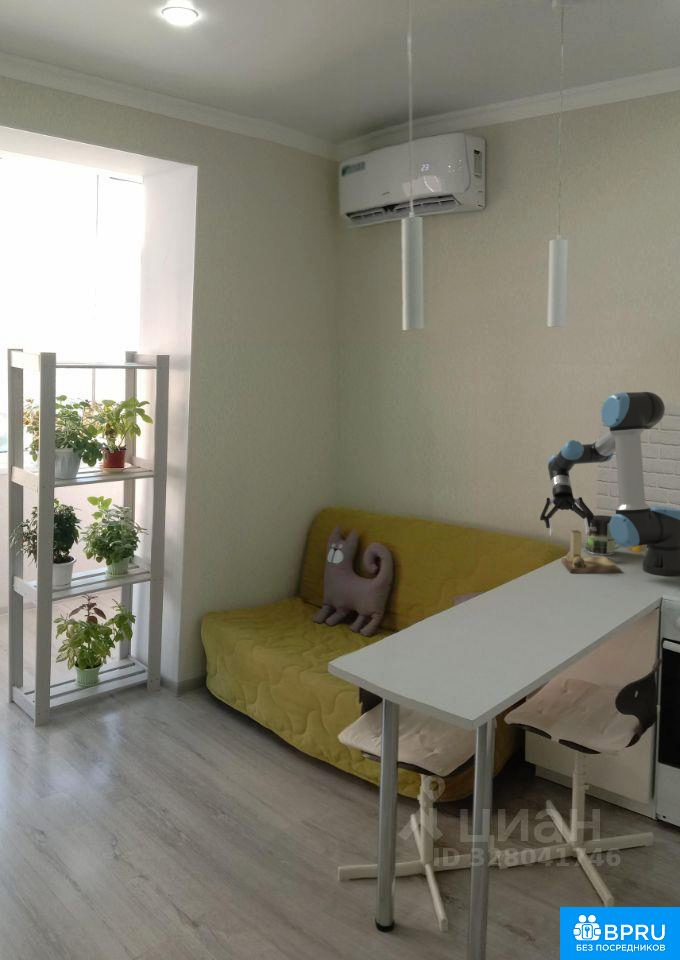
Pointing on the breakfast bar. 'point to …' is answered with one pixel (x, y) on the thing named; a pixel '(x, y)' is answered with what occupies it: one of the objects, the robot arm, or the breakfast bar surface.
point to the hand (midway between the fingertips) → (569, 534)
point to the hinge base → (590, 565)
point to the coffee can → (600, 536)
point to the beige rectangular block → (575, 545)
